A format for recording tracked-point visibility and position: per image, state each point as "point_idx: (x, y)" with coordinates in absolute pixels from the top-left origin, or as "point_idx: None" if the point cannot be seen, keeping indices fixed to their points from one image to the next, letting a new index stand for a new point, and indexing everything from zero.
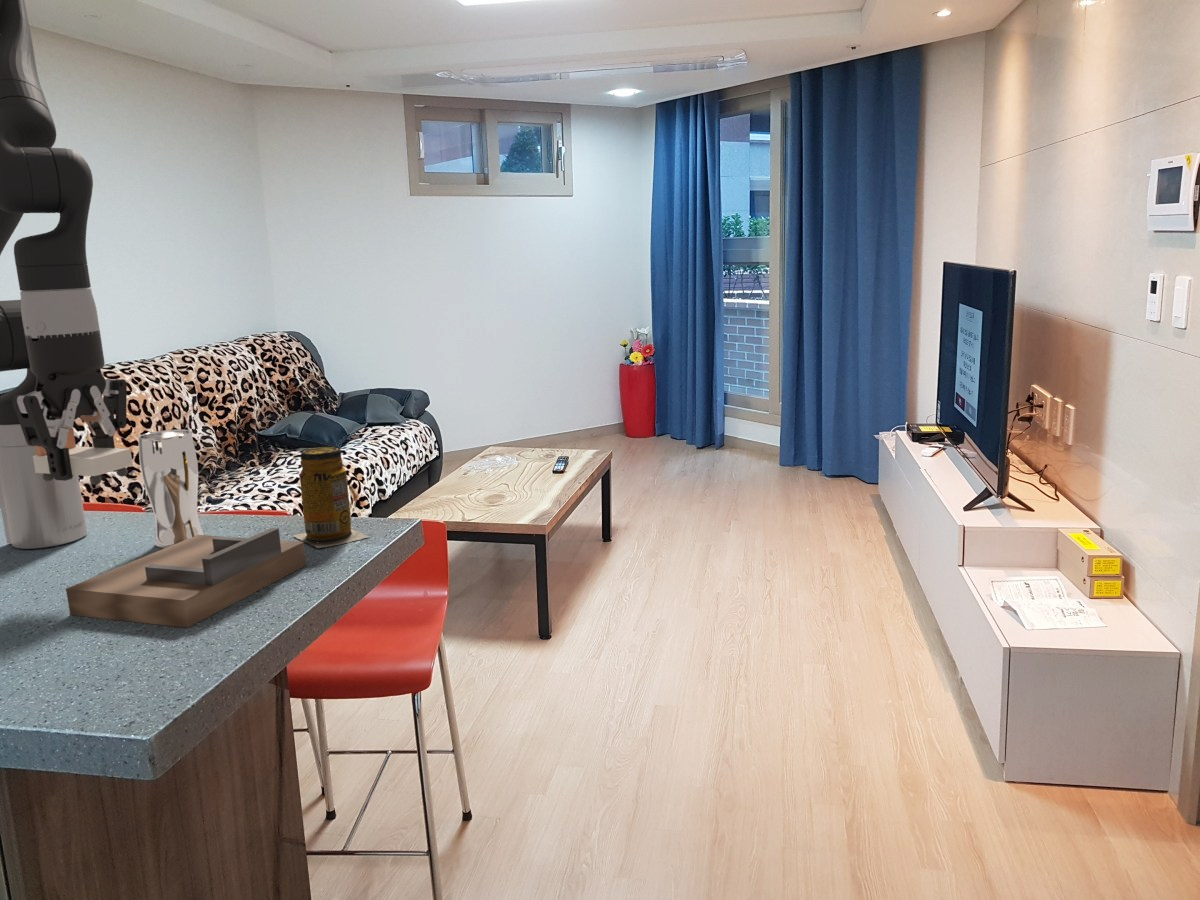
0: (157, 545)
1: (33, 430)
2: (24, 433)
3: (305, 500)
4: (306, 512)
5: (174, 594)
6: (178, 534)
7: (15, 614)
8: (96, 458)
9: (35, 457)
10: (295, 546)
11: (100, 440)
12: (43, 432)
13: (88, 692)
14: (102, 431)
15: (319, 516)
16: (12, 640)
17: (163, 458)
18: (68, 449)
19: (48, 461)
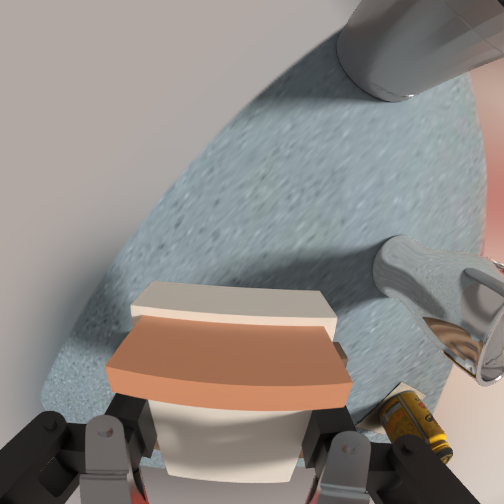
0: (377, 253)
1: (43, 457)
2: (20, 437)
3: (400, 433)
4: (395, 424)
5: (156, 439)
6: (386, 291)
7: (117, 266)
8: (180, 475)
9: (134, 315)
10: (301, 457)
11: (310, 448)
12: (60, 480)
13: (71, 415)
14: (317, 477)
15: (387, 432)
16: (79, 320)
17: (449, 354)
18: (151, 454)
19: (115, 397)
